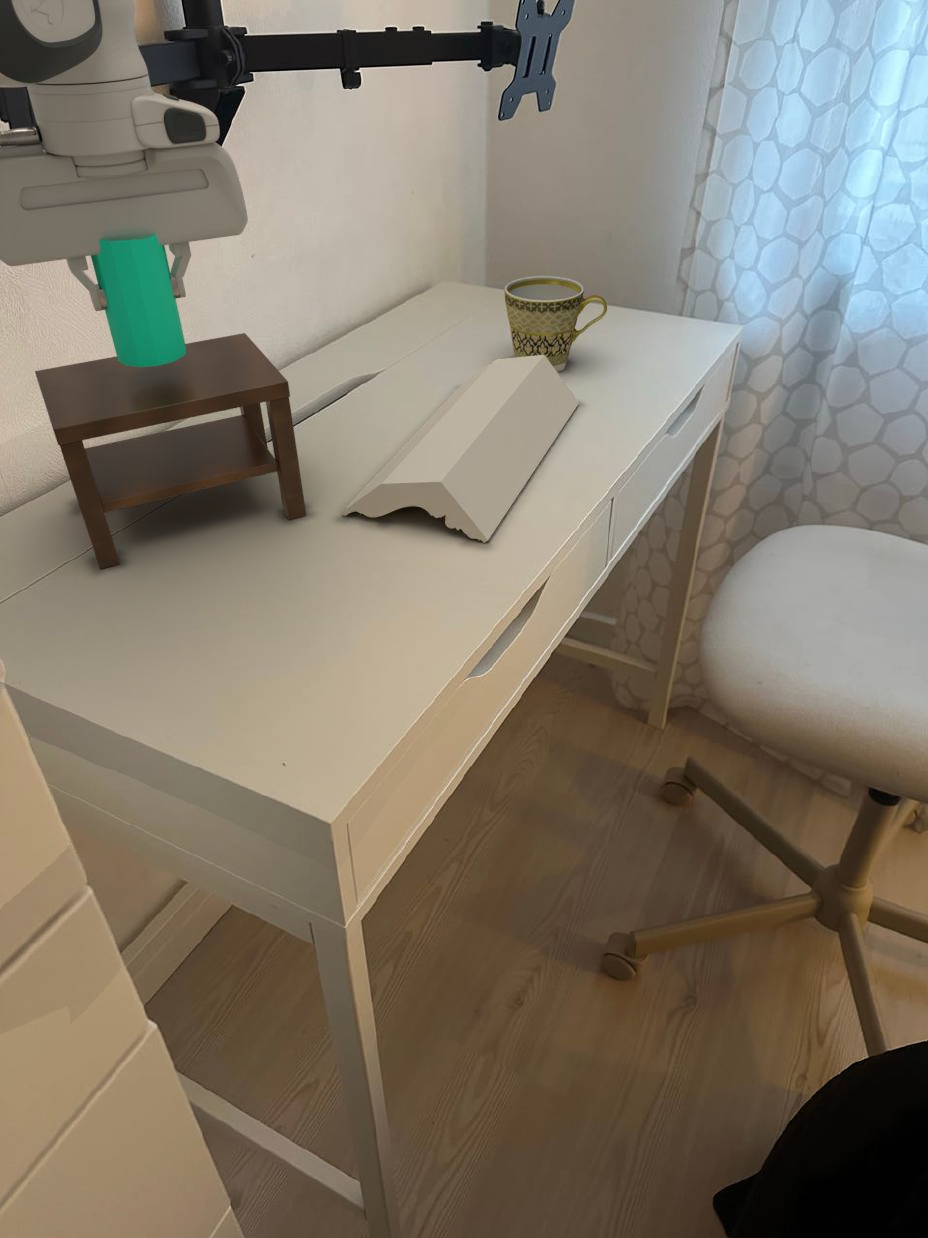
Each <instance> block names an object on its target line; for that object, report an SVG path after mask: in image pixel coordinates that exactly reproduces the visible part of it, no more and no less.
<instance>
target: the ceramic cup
mask: <svg viewBox="0 0 928 1238" xmlns="http://www.w3.org/2000/svg"><path fill="white" fill-rule="evenodd" d="M503 289H504V302H505V308H506V314H507V319H508V323H509V329H510V336H511V341H512V342H511V343H512V349H513V355H514V357H513V358H516V357H526V356H537V355H545V356H546V358H547V359H548V360H549V362H550V363H551V364H552V366H553V367H554V369H555V370H556V371H557V373H559V372H562V371H565V368H566V366H567V364H568V360H569V355H570V351H571V347H572V345H573V343H574V342H575V341H576V340H577V338H578V337H579V336H580V335H582V334H583V333H584V332H586V330H587V329H588V328H590V327H591V326H592V325H594V324H595V323H597V322H598V321H600V320H602V319H603V317H604V316H605V315H606V314H607V311H608V305H607V302H606V300H605V299H604V297H602V296H600V295H597V294H595V295H589V296H587V297H586V298H584V293H585V286H584V285H583V284H581V282H578V281H577V280H574V279H571V278H568V277H562V276H555V275H535V276H526V277H521V278H517V279H514V280H512V281H509V282H508V283H507V284H506V285H505V287H504V288H503ZM593 302H599V303H601V304H602V306H603V311H602V313H601V314H599V316H597V317H596V318H593V319H592V320H590V321H589V322H587V324H586V325H585V326H584V327H582V329H579V330H577V328H576V325H577V321H578V318H579V316H580V314H581V313H582V312H583V311H584V309H585V307H586V306H588V305H589V304H590V303H593Z"/></svg>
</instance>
